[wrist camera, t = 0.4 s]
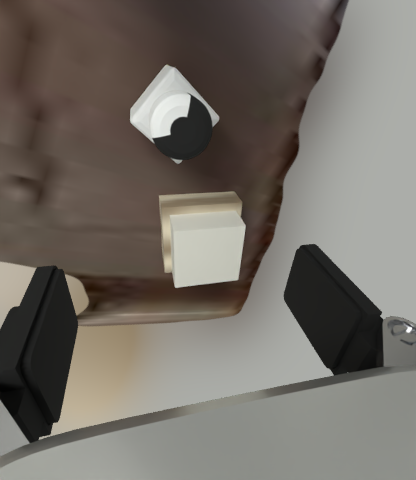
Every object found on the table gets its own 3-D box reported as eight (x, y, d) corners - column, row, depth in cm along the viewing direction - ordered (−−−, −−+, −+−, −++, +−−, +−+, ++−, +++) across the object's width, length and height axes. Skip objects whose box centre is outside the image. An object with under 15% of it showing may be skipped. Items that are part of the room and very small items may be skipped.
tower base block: (158, 194, 42) (161, 207, 39) (233, 190, 45) (242, 202, 41) (162, 256, 49) (164, 273, 45) (227, 250, 52) (234, 265, 48)
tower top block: (169, 215, 40) (173, 231, 36) (235, 210, 42) (245, 225, 38) (171, 268, 45) (175, 287, 42) (230, 262, 47) (238, 280, 44)
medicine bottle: (207, 108, 37) (234, 128, 27) (171, 148, 39) (185, 181, 29) (166, 62, 33) (181, 67, 23) (129, 110, 35) (128, 133, 25)
